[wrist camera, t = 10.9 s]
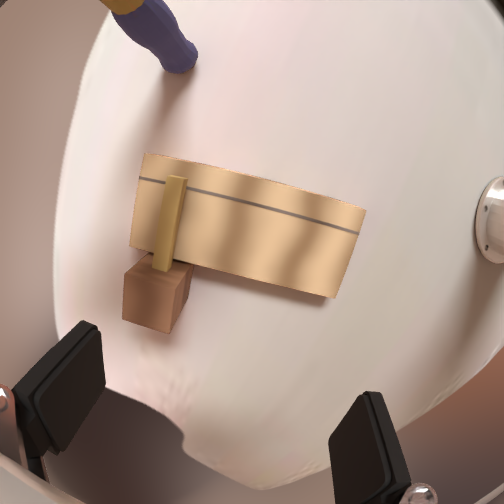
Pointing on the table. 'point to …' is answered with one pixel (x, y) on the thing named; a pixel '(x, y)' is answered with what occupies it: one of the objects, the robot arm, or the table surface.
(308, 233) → the board
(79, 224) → the table surface
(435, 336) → the table surface
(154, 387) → the table surface
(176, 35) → the rubber mallet
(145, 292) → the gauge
